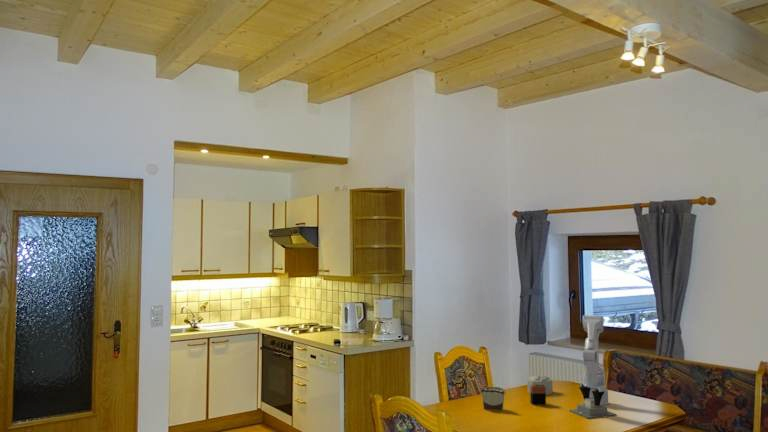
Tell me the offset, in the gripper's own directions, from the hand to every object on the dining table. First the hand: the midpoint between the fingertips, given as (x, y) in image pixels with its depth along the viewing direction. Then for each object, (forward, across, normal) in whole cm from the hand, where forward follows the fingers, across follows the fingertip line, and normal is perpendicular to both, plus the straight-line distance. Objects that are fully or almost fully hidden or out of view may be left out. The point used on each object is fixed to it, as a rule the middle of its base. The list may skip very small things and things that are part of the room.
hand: (592, 403), depth 276 cm
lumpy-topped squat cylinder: (+5, -44, +1) cm, 44 cm away
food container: (+5, -24, -39) cm, 46 cm away
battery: (+5, -24, -14) cm, 28 cm away
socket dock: (+4, 0, 0) cm, 4 cm away
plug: (+4, 0, 0) cm, 4 cm away
